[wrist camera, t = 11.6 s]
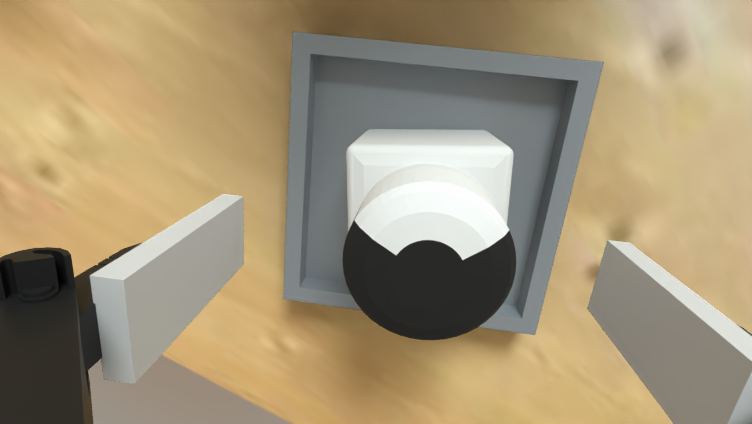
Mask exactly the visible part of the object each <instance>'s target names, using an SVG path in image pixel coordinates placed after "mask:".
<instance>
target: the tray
mask: <svg viewBox="0 0 752 424" xmlns="http://www.w3.org/2000/svg"><path fill="white" fill-rule="evenodd" d="M603 64H604V62H598V61H588V60H578V59H568V58H557V57H547V56H537V55H527V54H516V53H506V52H496V51H486V50H476V49H465V48H455V47H445V46H435V45H425V44H414V43H404V42H394V41H384V40H373V39H363V38H353V37H343V36H333V35H322V34H312V33H302V32H293V40H292V68H291V97H290V126H289V155H288V183H287V212H286V241H285V269H284V298H283V299H286V300H293V301H300V302H307V303H314V304H321V305H328V306H335V307H342V308H349V309H356V310H361V308H360V307H359V306H358V305H357V303H356V302H355V300H354V299H353V297H352V295H351V293H350V291H349V289H348V286H347V284H346V280H345V277H344V272H343V263H342V261H343V249H344V244H345V239H346V237H347V234H348V205H347V162H346V152H347V148H348V147H349V146H350V145H351V144H352V143H354V142H355V141H356V140H357V139H358V138H359V137H360V136H361V135H363V134H364V133H365V132H366V131H367V130H369V129H441V130H486V131H488V132H489V133H490V134H492V135H493V136H495V137H496V138H497V139H499V140H500V141H502V142H503V143H504V144H506V145H507V146H509V147H510V148H511V149H512V150H513V154H514V156H513V167H512V177H511V187H510V198H509V208H508V218H507V227H508V228H509V230H510V233H511V236H512V238H513V241H514V246H515V250H516V273H515V278H514V281H513V285H512V288H511V290H510V292H509V294H508V296H507V298H506V300H505V301H504V303H503V304H502V306H501V307H500V308H499V309H498V311H497V312H496V313H495V314H494V315H493V316H492V317H491V318H489V319H488V320H487V321H486V322H485V323H483V324H482V325H480V326H479V327H482V328H489V329H496V330H503V331H510V332H517V333H524V334H531V335H535V334H536V330H537V326H538V322H539V318H540V314H541V310H542V306H543V302H544V298H545V294H546V290H547V286H548V282H549V278H550V274H551V270H552V266H553V262H554V258H555V254H556V250H557V246H558V242H559V238H560V234H561V230H562V226H563V222H564V218H565V214H566V210H567V206H568V202H569V199H570V195H571V191H572V187H573V183H574V179H575V175H576V171H577V167H578V163H579V159H580V155H581V151H582V147H583V143H584V139H585V135H586V131H587V127H588V123H589V119H590V115H591V111H592V107H593V103H594V99H595V95H596V91H597V87H598V83H599V79H600V75H601V71H602V67H603Z"/></svg>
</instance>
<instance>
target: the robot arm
mask: <svg viewBox="0 0 752 424" xmlns="http://www.w3.org/2000/svg"><path fill="white" fill-rule="evenodd" d="M243 264H244V236H243V196H237V195H228V194H222V195H220V196H219V197H217V198H216V199H214V200H212V201H211V202H209V203H207V204H206V205H204V206H202V207H201V208H199V209H198V210H196V211H194V212H193V213H191V214H189V215H188V216H186V217H184V218H183V219H181V220H180V221H178V222H176V223H175V224H173V225H171V226H170V227H168V228H167V229H165V230H163V231H162V232H160V233H158V234H157V235H155V236H153V237H152V238H150V239H149V240H147V241H145V242H144V243H140V244H137V245H134V246H130V247H127V248H124V249H122V250H120V251H119V252H117V253H115V254H113V255H112V256H110V257H109V259H105V260H103V261H102V262H100V263H98V265H95V266H93V267H91V268H90V269H88V270H86V271H85V272H83V273H81V274H80V275H78V276H76V277H75V278H74V273H73V266H72V259H71V254H70V253H69V252H68V251H67V250H64V249H61V248H49V247H47V248H33V249H27V250H22V251H17V252H14V253H11V254H8V255H5V256H3V257H1V258H0V424H93V416H92V404H91V391H90V381H89V374H88V370H89V369H90V368H91V367H92V366H93V365H94V364H95V363H96V362H98V361H99V360H100V359H101V363H102V371H103V378H104V380H111V381H118V382H125V383H132V384H135V383H136V382H137V381H138V380H139V379H140V378H141V376H142V375H143V374H144V373H145V372H146V371H147V370H148V369H149V368H150V366H151V365H152V364H153V363H154V362H155V361H156V359H158V357H160V356H161V354H162V353H163V352H164V351H165V350H166V349H167V348H168V347H169V346H170V345H171V343H172V342H173V341H174V340H175V339H176V338H177V337H178V336H179V335H180V334H181V332H182V331H183V330H184V329H185V328H186V327H187V326H188V325H189V324H190V323H191V321H192V320H193V319H194V318H195V317H196V316H197V315H198V314H199V313H200V312H201V310H202V309H203V308H204V307H205V306H206V305H207V304H208V303H209V302H210V301H211V299H212V298H213V297H214V296H215V295H216V294H217V293H218V292H219V291H220V290H221V288H222V287H223V286H224V285H225V284H226V283H227V282H228V281H229V280H230V279H231V277H232V276H233V275H234V274H235V273H236V272H237V271H238V270H239V269H240V268H241V266H242V265H243ZM587 309H588V310H589V312H590V313H591V314H592V316H593V317H594V318H595V320H596V321H597V322H598V324H599V325H600V326H601V328H602V329H603V330H604V332H605V333H606V334H607V335H608V337H609V338H610V339H611V341H612V342H613V343H614V345H615V346H616V347H617V349H618V350H619V351H620V353H621V354H622V355H623V357H624V358H625V359H626V361H627V362H628V363H629V365H630V366H631V367H632V369H633V370H634V371H635V373H636V374H637V375H638V377H639V378H640V379H641V381H642V382H643V383H644V385H645V386H646V387H647V389H648V390H649V391H650V393H651V394H652V395H653V397H654V398H655V399H656V401H657V402H658V403H659V405H660V406H661V407H662V409H663V410H664V411H665V413H666V414H667V415H668V417H669V418H670V419H671V421H672V422H673V423H674V424H752V334H750V333H749V332H748V331H746V330H745V329H744V328H742V327H740V326H739V325H737V324H735V323H734V322H732V321H731V320H730V319H729V318H727V317H726V316H725V315H723V314H722V313H721V312H719V311H718V310H717V309H715V308H714V307H713V306H712V305H710V304H709V303H708V302H706V301H705V300H704V299H702V298H701V297H700V296H698V295H697V294H696V293H695V292H693V291H692V290H691V289H689V288H688V287H687V286H685V285H684V284H683V283H681V282H680V281H679V280H678V279H676V278H675V277H674V276H672V275H671V274H670V273H668V272H667V271H666V270H664V269H663V268H662V267H661V266H659V265H658V264H657V263H655V262H654V261H653V260H651V259H650V258H649V257H648V256H646V255H645V254H644V253H642V252H641V251H640V250H638V249H637V248H636V247H634V246H633V245H632V244H631V243H626V242H618V241H610V240H607V244H606V247H605V250H604V254H603V257H602V260H601V264H600V267H599V270H598V274H597V277H596V281H595V284H594V287H593V291H592V294H591V297H590V301H589V304H588V307H587Z"/></svg>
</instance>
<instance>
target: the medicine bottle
mask: <svg viewBox="0 0 752 424" xmlns="http://www.w3.org/2000/svg"><path fill="white" fill-rule="evenodd" d="M513 156H514V154H513V150H512V149H511V148H510V147H509V146H507V145H506V144H504V143H503V142H502V141H500V140H499V139H497V138H496V137H495V136H493V135H492V134H490V133H489V132H488V131H486V130H441V129H369V130H367V131H366V132H365V133H364V134H363V135H361V136H360V137H359V138H358V139H357V140H356V141H355V142H354V143H352V144H351V145H350V146H349V147H348V148H347V152H346V162H347V205H348V234H347V237H346V239H345V244H344V249H343V261H342V263H343V272H344V277H345V280H346V284H347V286H348V289H349V291H350V293H351V295H352V297H353V299H354V300H355V302H356V303H357V305H358V306H359V307H360V308H361V310H362V311H363V312H364V313H365V314H366V315H367V316H368V317H369V318H370V319H372V320H373V321H374V322H376V323H377V324H378V325H380V326H382V327H383V328H385V329H387V330H389V331H391V332H393V333H396V334H398V335H401V336H405V337H408V338H413V339H420V340H440V339H447V338H452V337H456V336H459V335H462V334H465V333H467V332H469V331H471V330H473V329H475V328H477V327H479V326H480V325H482V324H483V323H485V322H486V321H487V320H488V319H489V318H491V317H492V316H493V315H494V314H495V313H496V312H497V311H498V309H499V308H500V307H501V306H502V304H503V303H504V301H505V300H506V298H507V296H508V294H509V292H510V290H511V288H512V285H513V281H514V278H515V273H516V250H515V246H514V241H513V238H512V236H511V233H510V230H509V228H508V227H507V218H508V208H509V198H510V187H511V177H512V167H513Z"/></svg>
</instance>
